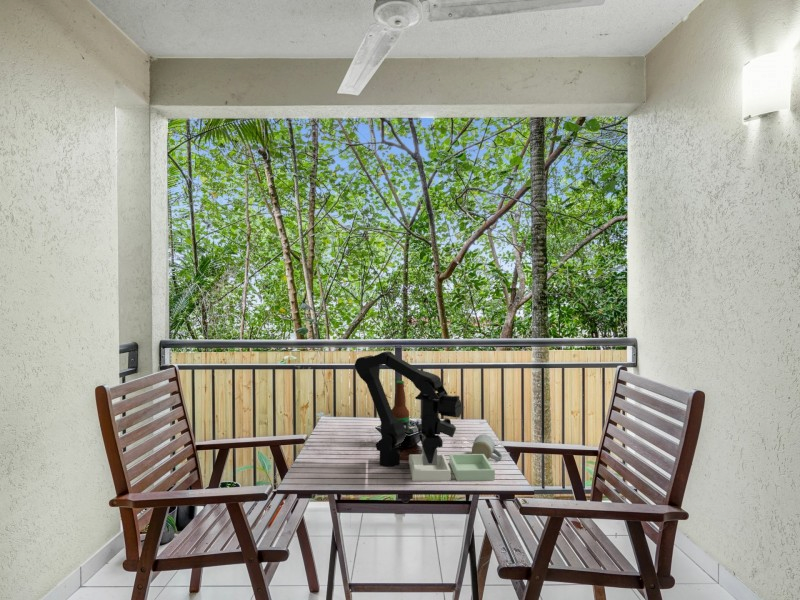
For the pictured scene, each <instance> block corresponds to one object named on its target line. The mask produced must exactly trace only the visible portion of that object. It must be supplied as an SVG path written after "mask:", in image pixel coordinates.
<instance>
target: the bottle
mask: <svg viewBox="0 0 800 600" xmlns="http://www.w3.org/2000/svg"><path fill="white" fill-rule="evenodd" d="M395 383H396V384H395V393H394V403H393V404H394V405H393V407H392V409H391V410H392V413H393V415H394V417H395V418H396V419H397V420H398V421H399V420H402V421H403V425H404V428H405V429H406V431H407V430H408V429H409V430H410V411H409V409H408V407H407V406H406V393H405V381H404V380H397V381H396V382H395Z"/></svg>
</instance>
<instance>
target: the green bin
mask: <svg viewBox="0 0 800 600" xmlns="http://www.w3.org/2000/svg"><path fill="white" fill-rule="evenodd" d="M448 456H449V463H448V465H449V467H450V469H451V470H452V471H451V472H452V474H453V475H454V478H455V479H456V481H457V482H460V481H461V482H463V481H464V482H465V481H466V482H467V481H470V482H471V481H474V482H477V481H478V482H479V481H480V482H481V481H495V479H496V476H495V475H496V471H495V468H494V467H493V466H492V464H491V463H490V461H489V459H487V458H486V457H485V455H484V454H473V453H449V455H448Z"/></svg>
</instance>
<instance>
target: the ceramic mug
mask: <svg viewBox="0 0 800 600" xmlns="http://www.w3.org/2000/svg"><path fill="white" fill-rule="evenodd" d="M471 446H472V447H471V454H484V455H485V457H486V458H487V459H488V460H489V459H492V460H494V461H496V462H500V461H501V460H502V458H503V454H501V452H500V451H499V450H497V449H495V448H496V444H495V441H494V439H493V438H492V437H491V436H490V435H487V434H479V435H477V436H476V437H475V438H474V440H473V444H472V445H471Z"/></svg>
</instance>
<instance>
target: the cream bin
mask: <svg viewBox="0 0 800 600" xmlns="http://www.w3.org/2000/svg"><path fill="white" fill-rule="evenodd" d="M408 465H409V469H410V475H411V479H412V482H451V481H452V476H451V475H452V473H451V472H452V471H451V470H452V469H451V467H450V464H449V463H448V461H447V458H446V457H445V454H443V453H440V454H439V453H437V465H423V463H422V453H421V454H412V453H411V454H409V455H408Z"/></svg>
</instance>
